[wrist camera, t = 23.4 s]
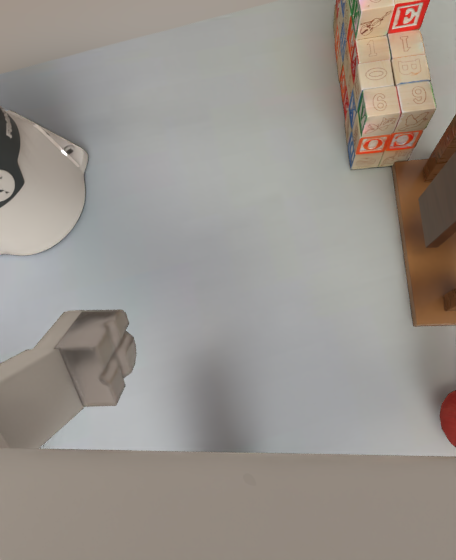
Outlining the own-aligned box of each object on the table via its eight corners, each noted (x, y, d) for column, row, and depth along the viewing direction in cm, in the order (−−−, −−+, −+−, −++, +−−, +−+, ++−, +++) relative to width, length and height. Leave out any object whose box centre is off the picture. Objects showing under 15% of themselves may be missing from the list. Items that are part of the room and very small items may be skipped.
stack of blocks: (407, 165, 43) (450, 83, 31) (349, 171, 44) (370, 94, 32) (382, 16, 49) (411, -100, 37) (331, 24, 50) (344, -87, 38)
